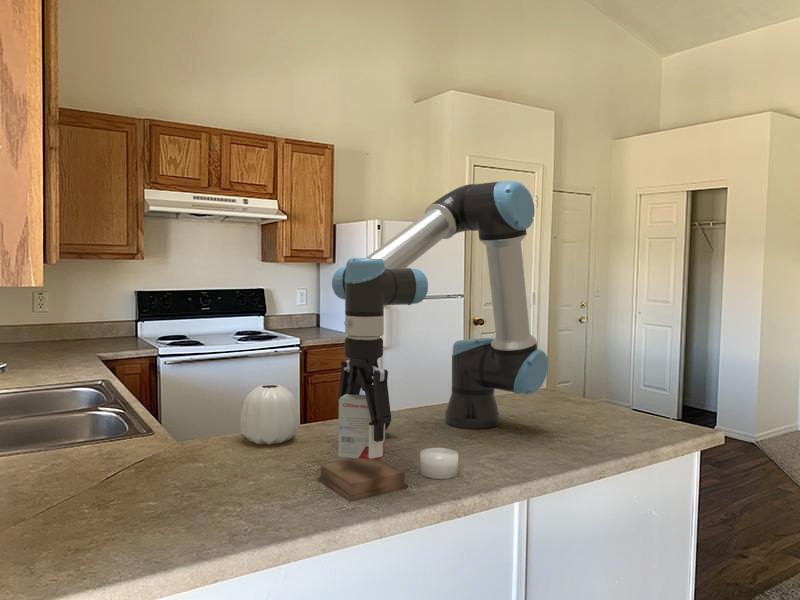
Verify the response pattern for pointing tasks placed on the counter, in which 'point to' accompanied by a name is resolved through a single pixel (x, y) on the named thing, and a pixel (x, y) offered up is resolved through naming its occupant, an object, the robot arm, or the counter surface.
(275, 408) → the vase
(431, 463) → the white dome button
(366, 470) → the podium
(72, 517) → the counter surface
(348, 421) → the ink box
